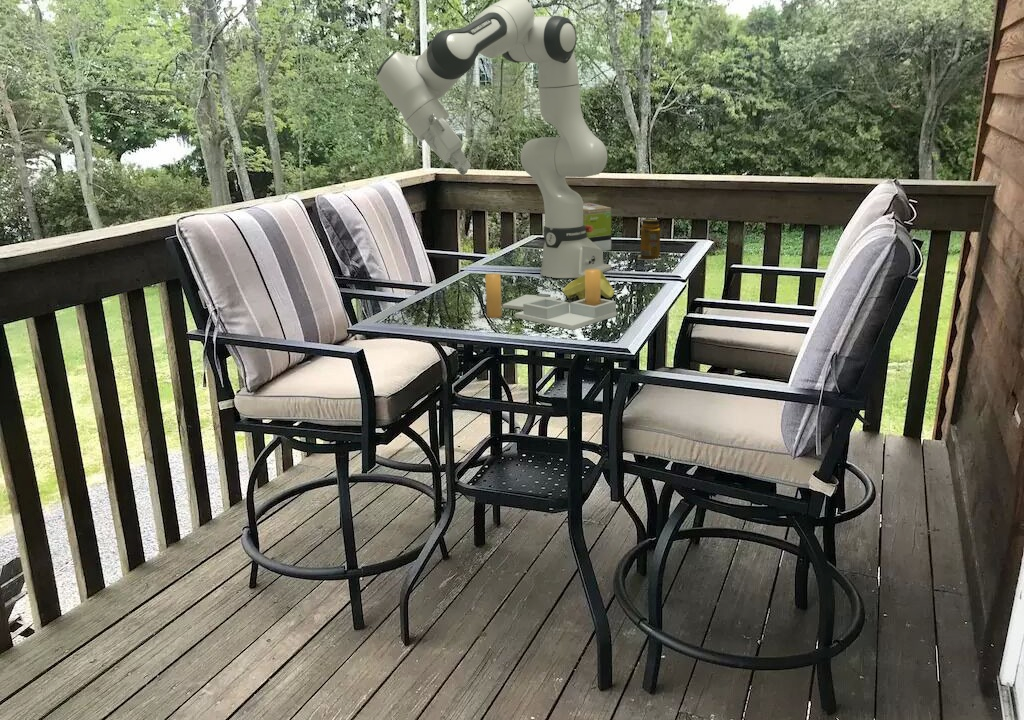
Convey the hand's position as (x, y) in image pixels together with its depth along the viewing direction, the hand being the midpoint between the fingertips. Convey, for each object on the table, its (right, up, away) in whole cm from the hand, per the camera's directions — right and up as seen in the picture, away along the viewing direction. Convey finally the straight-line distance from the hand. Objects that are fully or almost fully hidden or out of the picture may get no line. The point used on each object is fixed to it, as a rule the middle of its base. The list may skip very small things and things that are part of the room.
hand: (466, 171), depth 186 cm
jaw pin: (+6, -32, +10) cm, 34 cm away
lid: (+15, -29, +20) cm, 38 cm away
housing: (+23, -33, +7) cm, 41 cm away
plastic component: (+30, -28, +24) cm, 47 cm away
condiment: (+54, -11, +74) cm, 92 cm away
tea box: (+37, -5, +94) cm, 101 cm away
